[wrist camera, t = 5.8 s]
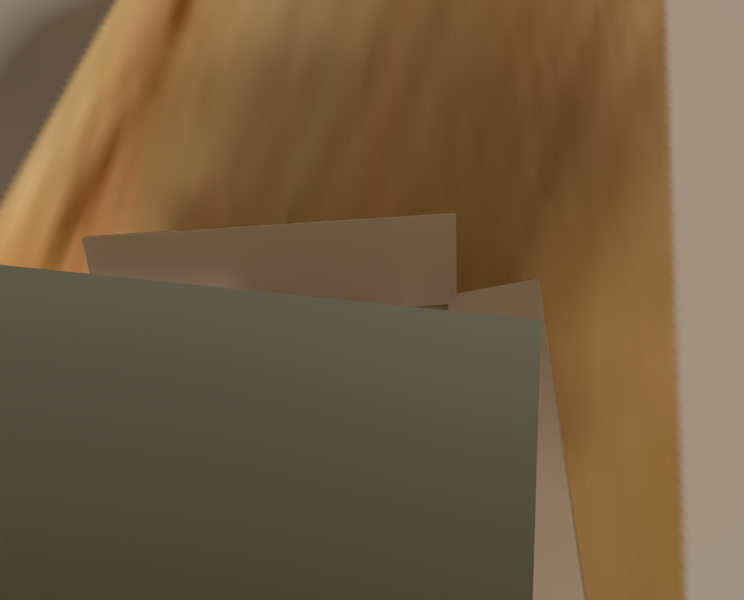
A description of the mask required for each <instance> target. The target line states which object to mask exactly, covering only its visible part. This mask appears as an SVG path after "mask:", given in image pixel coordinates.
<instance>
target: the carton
mask: <svg viewBox="0 0 744 600" xmlns="http://www.w3.org/2000/svg"><path fill="white" fill-rule="evenodd" d="M82 240H83V244H84V249H85V253H86V258H87V263H88V267H89V272H90V274H94V275H104V276H114V277H123V278H133V279H143V280H153V281H163V282H172V283H182V284H192V285H202V286H212V287H222V288H231V289H241V290H251V291H261V292H271V293H280V294H290V295H300V296H310V297H320V298H329V299H339V300H349V301H359V302H369V303H379V304H388V305H398V306H408V307H418V308H428V309H437V310H447V311H457V312H467V313H477V314H486V315H496V316H506V317H516V318H526V319H536V320H541V340H540V374H539V407H538V441H537V475H536V508H535V542H534V576H533V600H587V599H586V592H585V586H584V579H583V572H582V565H581V559H580V552H579V545H578V538H577V532H576V525H575V518H574V511H573V505H572V498H571V491H570V484H569V478H568V471H567V464H566V457H565V451H564V444H563V437H562V430H561V423H560V417H559V410H558V403H557V396H556V390H555V383H554V376H553V369H552V363H551V356H550V349H549V342H548V336H547V329H546V322H545V315H544V309H543V302H542V295H541V288H540V282H539V280H538V279H532V280H526V281H521V282H515V283H510V284H505V285H499V286H494V287H489V288H483V289H478V290H472V291H467V292H462V293H457V249H456V214H455V213H442V214H426V215H411V216H395V217H380V218H364V219H349V220H333V221H317V222H302V223H286V224H271V225H255V226H240V227H224V228H208V229H193V230H177V231H162V232H146V233H131V234H115V235H100V236H87V237H84V238H82Z"/></svg>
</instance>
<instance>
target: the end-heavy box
mask: <svg viewBox="0 0 744 600" xmlns="http://www.w3.org/2000/svg"><path fill="white" fill-rule="evenodd" d="M540 340H541V320H536V319H526V318H516V317H506V316H496V315H486V314H477V313H467V312H457V311H447V310H437V309H428V308H418V307H408V306H398V305H388V304H379V303H369V302H359V301H349V300H339V299H329V298H320V297H310V296H300V295H290V294H280V293H271V292H261V291H251V290H241V289H231V288H222V287H212V286H202V285H192V284H182V283H172V282H163V281H153V280H143V279H133V278H123V277H114V276H104V275H94V274H84V273H74V272H65V271H55V270H45V269H35V268H25V267H15V266H6V265H0V600H533V576H534V542H535V508H536V475H537V441H538V407H539V374H540Z"/></svg>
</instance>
